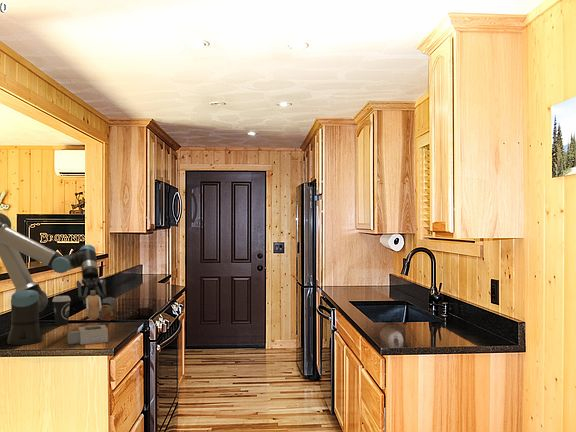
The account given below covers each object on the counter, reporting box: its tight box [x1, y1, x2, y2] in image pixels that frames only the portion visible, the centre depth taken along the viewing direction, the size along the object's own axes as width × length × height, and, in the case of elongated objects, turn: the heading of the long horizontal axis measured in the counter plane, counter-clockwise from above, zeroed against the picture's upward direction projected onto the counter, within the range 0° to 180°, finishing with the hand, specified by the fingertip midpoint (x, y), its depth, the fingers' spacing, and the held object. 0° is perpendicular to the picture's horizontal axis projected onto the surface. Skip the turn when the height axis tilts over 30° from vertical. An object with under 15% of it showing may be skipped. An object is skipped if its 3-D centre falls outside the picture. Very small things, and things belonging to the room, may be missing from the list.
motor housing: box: [67, 324, 109, 346], centre depth 261 cm, size 12×17×6 cm
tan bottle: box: [86, 289, 99, 319], centre depth 262 cm, size 5×5×12 cm
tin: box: [97, 305, 117, 322], centre depth 315 cm, size 15×3×8 cm, turn 54°
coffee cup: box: [51, 295, 72, 326], centre depth 305 cm, size 10×10×15 cm
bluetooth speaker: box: [101, 296, 118, 309], centre depth 330 cm, size 23×9×10 cm, turn 11°
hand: (94, 309), depth 258 cm, fingers closed on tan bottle, 5 cm apart
